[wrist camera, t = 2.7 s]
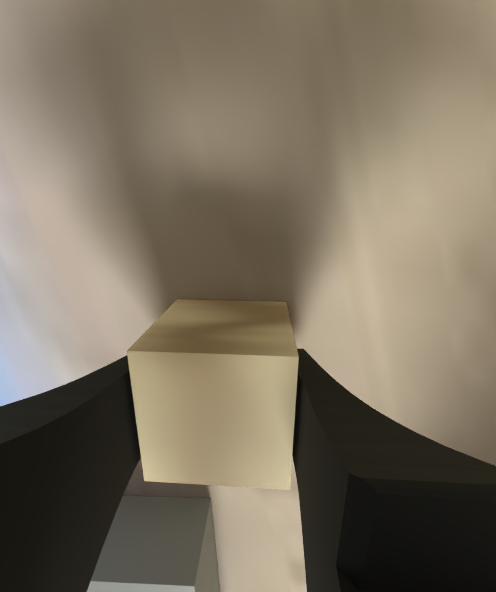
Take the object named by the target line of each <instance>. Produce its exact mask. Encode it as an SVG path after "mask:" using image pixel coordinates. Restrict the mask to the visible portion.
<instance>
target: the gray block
mask: <svg viewBox="0 0 496 592" xmlns="http://www.w3.org/2000/svg"><path fill="white" fill-rule="evenodd" d="M87 592H220V584H219V574H218V564H217V554H216V544H215V534H214V524H213V514H212V504H211V498H191V497H158V496H125V495H123V496H122V499H121V501H120V504H119V506H118V509H117V511H116V514H115V516H114V519H113V522H112V524H111V527H110V529H109V532H108V535H107V537H106V540H105V543H104V545H103V548H102V551H101V553H100V556H99V559H98V562H97V564H96V567H95V570H94V573H93V576H92V579H91V581H90V584H89V587H88V590H87Z"/></svg>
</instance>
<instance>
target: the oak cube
mask: <svg viewBox="0 0 496 592" xmlns="http://www.w3.org/2000/svg"><path fill="white" fill-rule="evenodd" d="M127 356H128V364H129V371H130V378H131V386H132V393H133V401H134V408H135V416H136V423H137V431H138V438H139V446H140V453H141V461H142V468H143V476H144V481H151V482H167V483H184V484H201V485H218V486H234V487H251V488H268V489H285V490H290V482H291V467H292V452H293V437H294V421H295V406H296V391H297V376H298V360H299V356H298V351H297V347H296V342H295V338H294V334H293V329H292V325H291V320H290V316H289V311H288V307H287V303H286V302H277V301H235V300H193V299H177V300H176V301H175V302H174V303H173V304H172V305H171V306H170V307H169V308H168V309H167V310H166V311H165V312H164V313H163V314H162V315H161V316H160V317H159V319H158V320H157V321H156V322H155V323H154V324H153V325H152V326H151V327H150V328H149V329H148V330H147V331H146V332H145V333H144V334H143V335H142V336H141V337H140V338H139V339H138V340H137V341H136V342H135V343H134V344H133V345H132V346H131V347H130V348H129V349H128V350H127Z"/></svg>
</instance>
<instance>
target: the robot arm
mask: <svg viewBox="0 0 496 592" xmlns="http://www.w3.org/2000/svg"><path fill="white" fill-rule="evenodd" d="M297 351H298V356H299V360H298V376H297V391H296V406H295V421H294V437H293V452H292V455H293V461H294V466H295V472H296V477H297V484H298V491H299V500H300V511H301V522H302V534H303V546H304V558H305V570H306V584H307V592H496V466H494V465H491V464H489V463H486V462H483V461H481V460H478V459H476V458H473V457H471V456H468V455H466V454H463V453H461V452H458V451H456V450H453V449H451V448H448V447H446V446H444V445H441V444H439V443H437V442H435V441H433V440H431V439H429V438H426V437H424V436H422V435H420V434H418V433H416V432H414V431H412V430H410V429H408V428H406V427H404V426H402V425H401V424H399V423H397V422H395V421H394V420H392V419H390V418H388V417H386V416H385V415H383V414H381V413H380V412H378V411H376V410H375V409H373V408H372V407H370V406H369V405H367V404H366V403H364V402H363V401H361V400H360V399H359V398H357V397H356V396H354V395H353V394H352V393H350V392H349V391H348V390H347V389H345V388H344V387H343V386H342V385H340V384H339V383H338V382H337V381H336V380H335V379H333V378H332V377H331V376H330V375H329V374H328V373H327V372H326V371H325V370H324V369H323V368H322V367H321V366H320V365H319V364H318V363H317V362H316V361H315V360H314V359H313V358H312V357H311V356H310V355H309V354H308V353H307V352H306V351H305V350H304V349H297ZM140 458H141V453H140V446H139V438H138V431H137V423H136V416H135V408H134V401H133V393H132V386H131V378H130V371H129V364H128V356H125V357H123V358H121V359H119V360H117V361H115V362H113V363H111V364H109V365H107V366H105V367H103V368H101V369H99V370H97V371H94V372H92V373H90V374H88V375H86V376H84V377H82V378H79V379H77V380H75V381H72V382H70V383H68V384H65V385H63V386H60V387H57V388H55V389H52V390H50V391H47V392H44V393H41V394H38V395H35V396H32V397H29V398H26V399H23V400H20V401H16V402H13V403H10V404H7V405H4V406H0V592H87V590H88V587H89V584H90V581H91V579H92V576H93V573H94V570H95V567H96V564H97V562H98V559H99V556H100V553H101V551H102V548H103V545H104V543H105V540H106V537H107V535H108V532H109V529H110V527H111V524H112V522H113V519H114V516H115V514H116V511H117V509H118V506H119V504H120V501H121V499H122V496H123V494H124V491H125V489H126V487H127V484H128V482H129V480H130V478H131V475H132V473H133V471H134V469H135V467H136V465H137V463H138V461H139V460H140Z"/></svg>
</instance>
